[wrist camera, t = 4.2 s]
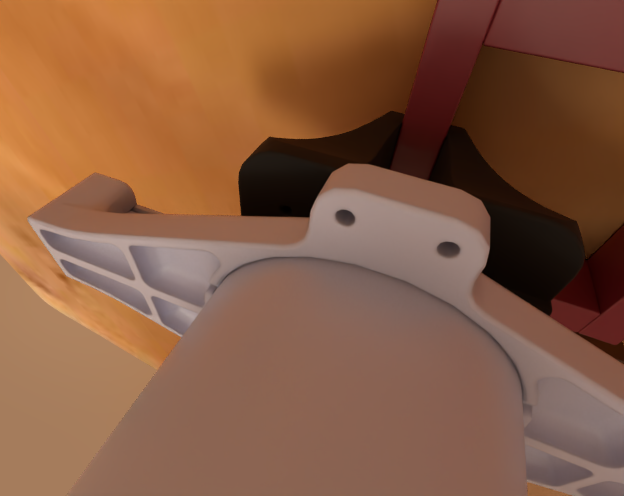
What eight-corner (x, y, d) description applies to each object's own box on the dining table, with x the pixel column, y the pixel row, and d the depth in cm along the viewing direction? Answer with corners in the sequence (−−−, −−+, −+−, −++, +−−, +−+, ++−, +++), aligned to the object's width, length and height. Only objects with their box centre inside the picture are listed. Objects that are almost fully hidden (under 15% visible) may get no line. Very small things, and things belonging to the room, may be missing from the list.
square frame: (912, 21, 8) (1051, 60, 6) (600, 289, 15) (616, 346, 13) (456, -46, 10) (446, -34, 8) (377, 221, 17) (362, 261, 15)
